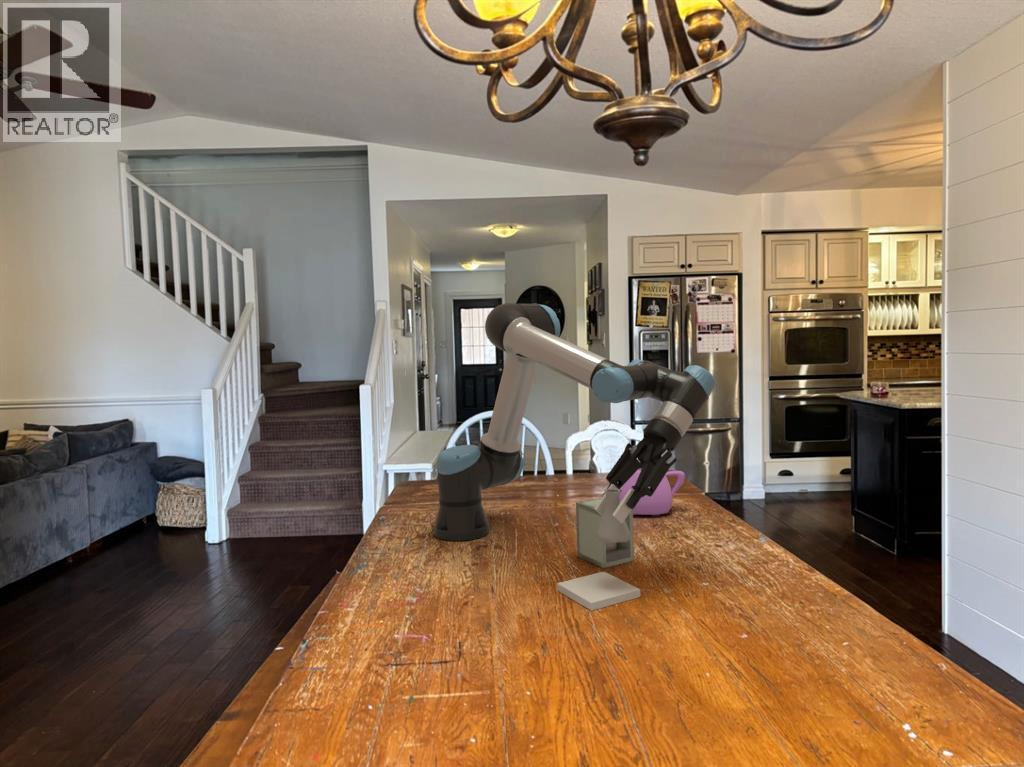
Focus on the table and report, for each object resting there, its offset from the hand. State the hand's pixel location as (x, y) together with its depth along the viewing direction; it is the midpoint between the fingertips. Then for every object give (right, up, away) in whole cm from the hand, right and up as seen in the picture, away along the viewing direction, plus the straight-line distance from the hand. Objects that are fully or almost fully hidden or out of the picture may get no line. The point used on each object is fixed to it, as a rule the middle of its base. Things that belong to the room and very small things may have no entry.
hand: (608, 515), depth 128 cm
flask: (+1, -5, +1) cm, 5 cm away
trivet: (-2, -16, 0) cm, 16 cm away
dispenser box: (+2, -14, +21) cm, 25 cm away
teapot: (+20, -11, +61) cm, 66 cm away
